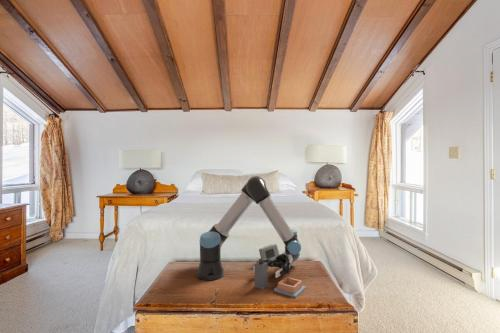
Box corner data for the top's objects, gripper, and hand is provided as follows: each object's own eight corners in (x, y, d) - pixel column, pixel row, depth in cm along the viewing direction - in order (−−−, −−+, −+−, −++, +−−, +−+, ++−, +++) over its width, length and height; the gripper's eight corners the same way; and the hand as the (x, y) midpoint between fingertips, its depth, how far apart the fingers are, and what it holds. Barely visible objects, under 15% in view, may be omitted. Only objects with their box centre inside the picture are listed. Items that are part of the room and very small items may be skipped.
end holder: (273, 291, 137) (273, 283, 137) (285, 282, 146) (285, 275, 146) (295, 297, 130) (295, 289, 130) (306, 288, 140) (306, 280, 139)
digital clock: (263, 267, 168) (263, 250, 168) (255, 263, 176) (255, 246, 176) (284, 262, 177) (283, 245, 177) (275, 258, 184) (275, 242, 184)
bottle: (254, 287, 141) (254, 260, 141) (259, 283, 146) (259, 257, 145) (262, 289, 139) (262, 261, 138) (267, 285, 143) (267, 259, 143)
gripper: (303, 271, 154) (286, 285, 136) (265, 262, 168) (245, 274, 151) (303, 257, 154) (286, 270, 136) (265, 250, 168) (245, 260, 150)
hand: (264, 272), depth 143 cm, fingers open, 13 cm apart
